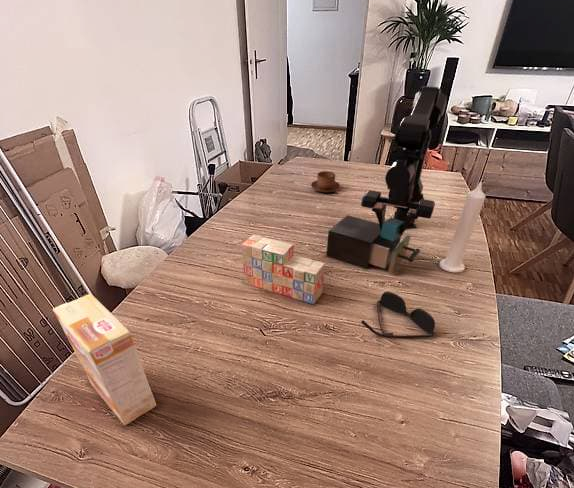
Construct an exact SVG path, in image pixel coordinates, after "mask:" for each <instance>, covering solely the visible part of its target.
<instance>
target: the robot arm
mask: <svg viewBox="0 0 574 488" xmlns="http://www.w3.org/2000/svg"><path fill="white" fill-rule="evenodd" d="M447 99H448V96H447V95H446V94H444V93H443V92H442V91H441V88H440V87H439V86H428V85H427V86H426V85H424V86H421V87H420V89H419V91H417V92H416V93H415V96H414V99H413V103H412V107H411V109H412V112H411V114H410V115H407V116H405V117H404V118H403V119H402V121H401V122H400V124H399V125H398V126H397V127H396V130H395V133H394V136H393V139H392V143H391V147H390V151H389V156H390V157H395V158H394V161H393V163H392V164H391V165H390V167H389V169H388V170H387V172H386V174H385V178H384V180H385V181H384V182H385V184H386V187H387V190H388V196H387V197H386V196H381V195H382V192H381V191H376V190H372V189H369V190H367V191H366V192H365V194H364V195H363V196H362V199H361V203H360V206H361V207H362V208H367V209H371V212H374V213H375V216H376V218H377V222H378V223H379V226H380V230H382V225H383V222H384V221H386V210H387V206H388V207H393V208H394V209H396V210H395V211H394V214H393V218H394V219H397V220H400V221H403V222H404V225H403V227H402V230H401V234H400V235H401V237H402V236H403V235H404V233H405V231H406V230H407V229H414V228H417V225H416V224H415V222H416V220H418V219H419V218H422V219H431V218H432V215H433V213H434V210H435V206H436V202H435V201H434V200H432V199H431V200H430V199H425V198H424V193H423V189H424V185H423V182H422V180H421V179H422V178H421V177H422V172H423V168H424V165H425V164H424V163H425V159H426V156H427V152H428V149H429V147H430V146H429V145H430V142H431V139H432V131H433V130H434V128H435V127H436V126H437V125H438V123H439V121H440V120H441V117H443V116H444V114H445V110H446V106H447Z"/></svg>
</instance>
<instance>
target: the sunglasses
mask: <svg viewBox="0 0 574 488" xmlns="http://www.w3.org/2000/svg"><path fill="white" fill-rule="evenodd" d="M379 305H381V306H383V307H384V308H386V309H389V310H390V311H393V312H395V313H397V314H401V315H403V316H406V317H407V318H409V319H410V320H411V321H412V322H413V323H414V324H415V325H417V327H419V328H420V329H421V330H423V331H424V332H425V333H427V334H411V335H410V334H409V335H408V334H407V335H402V334H401V335H399V334H398V335H395V334H394V332H385V331H384V329H383V327H382V323H381V319H380V309H379ZM376 313H377V320H378V325H379V328H380V331H381V332H378V331H376V330H375V329H374V328H372V327H371V325H369V324H368V323H367V322H366V321H365V320H364V319H362V320H361V324H362V325H363V326H364V327H365V328H367V329H368V330H369V331H370V332H371V333H373V334H374V335H377V336H379V337H383V338H393V339H419V338H420V339H421V338H432V337H434V336H435V335H436V334H435V328H436V321H435V318H434V317H433V316H432V315H431V314H430V313H429V312H427V311H426V310H424V309H422V308H418V307H417V308H415V309H413V310H412V311H411V312H410V313H409V312H408V311H407V305H406V301H405V300H404V298H403V297H401V296H400V295H398V294H396V293H394V292H391V291H384V292H383V293H382V294H381V296H380V298H379V300H377V301H376Z"/></svg>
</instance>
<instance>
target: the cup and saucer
mask: <svg viewBox="0 0 574 488" xmlns="http://www.w3.org/2000/svg"><path fill="white" fill-rule="evenodd" d="M316 177H317V179H316V180H314V181H312V182H311V184H310V185H311V188H312V189H313V190H315V192H319V193H333V192H336V191H338V190H339V189H340V187H341V184H340V183H339V182H338V181H336V173H335V172H332V171H325V170H324V171H319V172H317V175H316Z"/></svg>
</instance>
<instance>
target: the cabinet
mask: <svg viewBox="0 0 574 488" xmlns="http://www.w3.org/2000/svg"><path fill="white" fill-rule="evenodd" d="M327 232H328V234H327V244H326V253H325V254H326V257H328V258H331V259H333V260H334V259H335V260H338V261H340V262H344V263H346V264H350V265H352V266H356V267H359V268H362V269H365V270H367V269H368V268H369V267H370V266H371V265H372V264H369V258H370V252H371V246H372V243H373V242H374V241H375V240H376V239H377V238H378V237H379V236H380V235H381V230H380V226H379V222H374V221H371V220H368V219H363V218H359V217H356V216H351V215H348V214H347V215H346V216H344V217H343V218H342V219H340V220H339V221H338V222H336V224H334V225H333V226H332V227H331V228H330V229H328V231H327Z"/></svg>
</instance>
